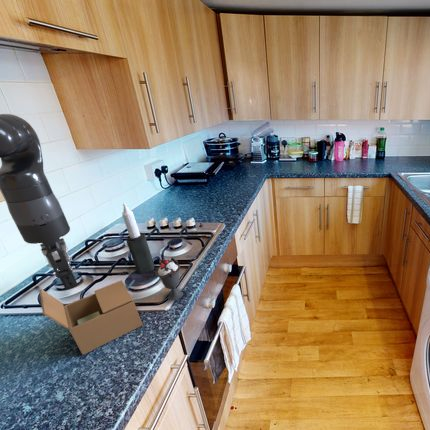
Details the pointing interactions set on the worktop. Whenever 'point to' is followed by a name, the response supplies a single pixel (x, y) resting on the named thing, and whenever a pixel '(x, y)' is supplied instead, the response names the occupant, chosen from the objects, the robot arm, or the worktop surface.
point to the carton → (102, 317)
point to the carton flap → (53, 308)
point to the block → (88, 317)
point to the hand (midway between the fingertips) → (69, 278)
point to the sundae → (170, 277)
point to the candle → (137, 244)
